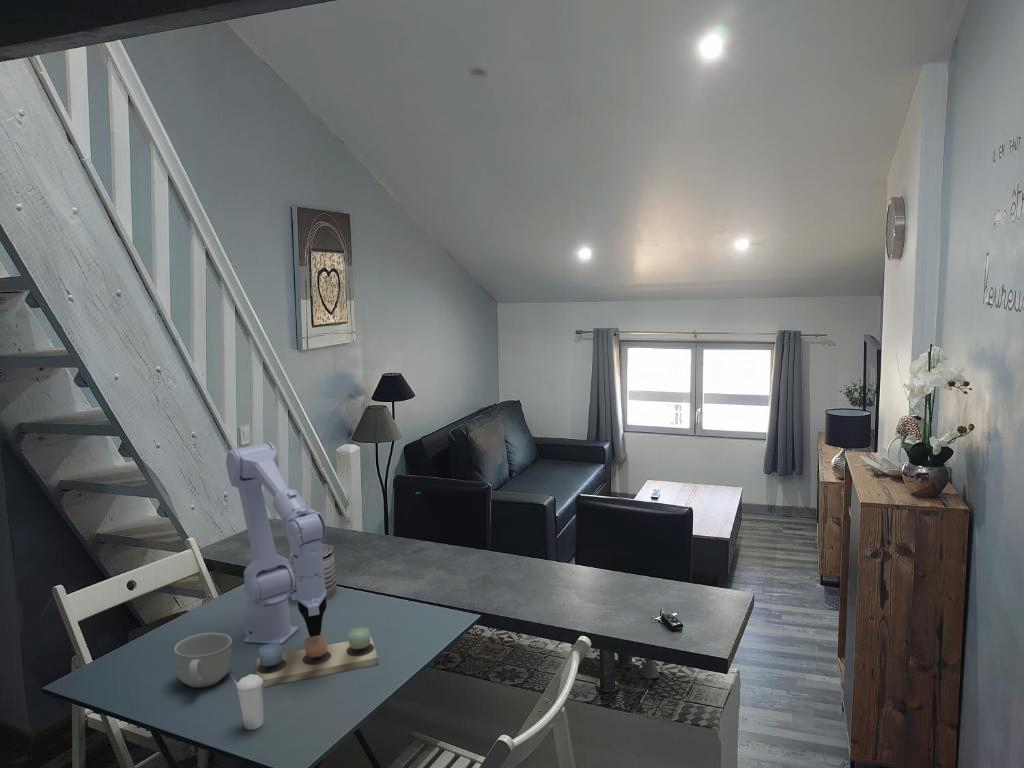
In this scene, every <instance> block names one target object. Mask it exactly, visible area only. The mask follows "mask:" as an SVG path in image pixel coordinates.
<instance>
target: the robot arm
mask: <svg viewBox="0 0 1024 768" xmlns="http://www.w3.org/2000/svg"><path fill="white" fill-rule="evenodd" d="M278 453H279V452H278V450H277V448H276V446H275V445H274V444H273V443H272V442H271V441H269V442H268V441H267V442H265V443H260V444H255V445H251V446H245V447H239V448H231V449H229V450H228V452H227V455H226V459H225V465H226V471H227V475H228V478H229V479H228V480H229V483H230V486H231V487H234V488H237V489H238V493H239V497H240V501H241V506H242V511H243V516H244V522H245V525H246V529H247V530H246V531H247V534H248V539H249V542H250V547H251V552H252V553H251V554H252V560H251V561H250V563H249V564H248V565H247V567H245V568H244V571H243V579H244V585H243V587H244V592H245V596H246V598H247V599H248V600H247V601H246V602H245V605H244V609H243V620H244V621H243V624H244V630H245V631H244V632H245V638H244V639H243V641H244V643H252V644H253V643H254V644H270V643H279V644H281V645H283V644H284V643H285V642H286V641H287V640H288V639H289V638H290V637H291V636H293V635H294V634H295V632H296V631H298V630H299V626H297V625H296V626H295V625H291V616H290V614H291V613H290V605H289V597H290V598H291V601H293V600H298V601H299V602H298V604H297V607H298V611H299V613H300V614H301V616H302V617H303V619H304V622H305V625H306V629H307V632H308V635H309V637H313V636H318V635H321V633H322V627H323V618H324V617H323V616H324V614H325V611H326V609H327V604H328V603H327V601H326V597H325V596H326V595H327V591H326V589H325V580H324V567H323V556H322V544H323V543H322V540H324V538H325V537H326V534H327V527H326V522H325V520H324V518H323V515H322V514H321V513H320V512H318V511H315V509H313V508H312V509H310V508H309V507H308V504H307V503H306V502H305V500H304V499H303V497H302V496H301V494H300V493H299V492H298V490H296V489H294V488H289V486H288V483H287V482H286V480H285V477H284V476H283V474H282V472H281V471H280V469H279V454H278ZM262 486H264V487H265V488H266V490H267V491H268V492H269V494H270V495H271V496H272V497H273V501H272V507H273V509H274V511H276V513H277V515H278V516H279V518H280V519H281V521H282V522H283V524H284V525H285V534H286V538H287V539H286V540H287V542H288V545H289V551H290V553H292V554H293V556H294V567H295V576H294V573H293V571H292V569H291V567H290V564H289V561H288V558H286V557H284V556H282V555H279V554H277V551H276V547H275V546H276V545H275V541H274V538H273V532H272V528H271V525H270V518H269V515H268V510H267V506H266V501H265V497H264V492H263V488H262ZM271 568H272V569H271ZM295 578H296V589H297V593H295V594H291V591H293V589H294V586H295Z"/></svg>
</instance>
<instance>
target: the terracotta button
mask: <svg viewBox="0 0 1024 768" xmlns="http://www.w3.org/2000/svg"><path fill="white" fill-rule="evenodd" d="M327 645H328V644H327V637H326V635H323V634H320V635H318V636H313V637H310V636H308V637H306V638H305V639H304V649H305V654H306V656H308V657H319V656H322V655H324V654H325V653H326V652H327Z"/></svg>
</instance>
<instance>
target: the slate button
mask: <svg viewBox="0 0 1024 768" xmlns="http://www.w3.org/2000/svg"><path fill="white" fill-rule="evenodd" d="M282 653H283V649H282V644H279V643H270V644H268V643H265V644H264V645H261V646H260V647H259V649H258V656H259V657H258V658H260V664H261V665H263V666H272V665H275V664H278V663H279V662H281V661H282Z"/></svg>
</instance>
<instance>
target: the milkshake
mask: <svg viewBox="0 0 1024 768" xmlns="http://www.w3.org/2000/svg"><path fill="white" fill-rule="evenodd" d="M230 677H231V678H232V680H233V681H234V683H235V684H236V691H237V695H238V700H239V704H240V709H241V713H242V719H243V726H244V728H245V729H246V730H249V731H252V730H253V731H254V730H257V729H259V728H261V727H262V726H263V725H264V687H263V679H262V678H261V677H260V676H259V675H256V674H252V673H251V674H248V675H247V676H244V677H242V678H240V679H239V681H238V682H237V680H236V679H235V677H234V675H233V674H230Z"/></svg>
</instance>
